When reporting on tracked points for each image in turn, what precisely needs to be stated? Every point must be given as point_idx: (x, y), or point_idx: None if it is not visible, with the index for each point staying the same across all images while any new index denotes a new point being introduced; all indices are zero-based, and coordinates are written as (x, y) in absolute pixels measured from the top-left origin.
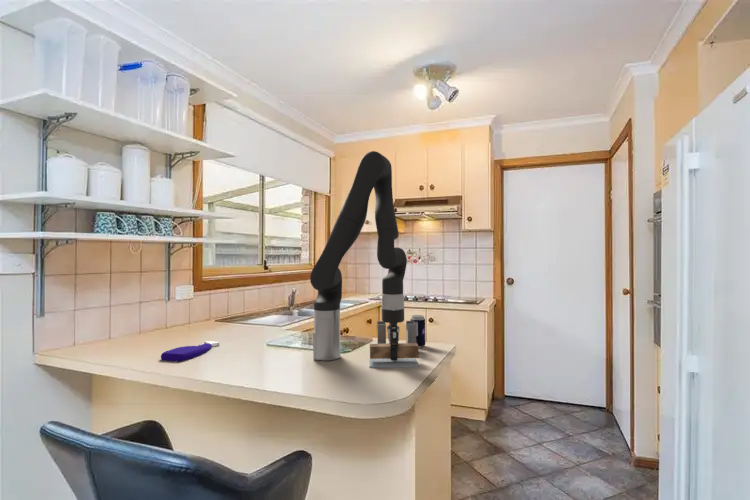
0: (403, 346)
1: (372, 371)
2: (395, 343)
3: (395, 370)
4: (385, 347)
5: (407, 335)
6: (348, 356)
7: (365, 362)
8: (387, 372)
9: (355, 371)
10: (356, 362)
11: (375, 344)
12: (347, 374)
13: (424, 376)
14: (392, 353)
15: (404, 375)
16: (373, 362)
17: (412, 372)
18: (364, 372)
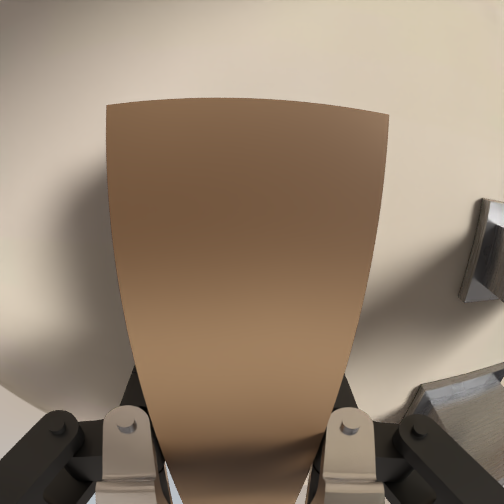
0: (181, 494)
1: (41, 153)
2: (309, 468)
3: (80, 316)
4: (145, 377)
5: (489, 461)
6: (471, 2)
7: (309, 80)
8: (34, 262)
9: (54, 27)
10: (314, 6)
11: (311, 235)
12: (14, 3)
13: (39, 407)
14: (128, 386)
15: (19, 343)
16: None
17: (71, 387)
18: (26, 97)
